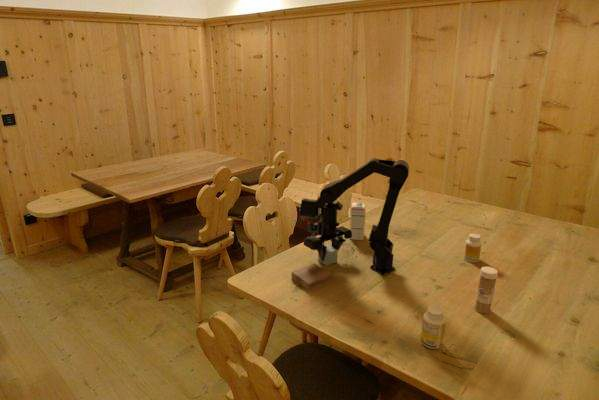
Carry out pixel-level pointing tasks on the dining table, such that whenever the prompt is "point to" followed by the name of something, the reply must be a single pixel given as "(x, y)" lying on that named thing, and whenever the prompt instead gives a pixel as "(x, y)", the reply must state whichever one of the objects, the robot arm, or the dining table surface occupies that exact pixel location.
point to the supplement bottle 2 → (472, 248)
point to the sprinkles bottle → (486, 289)
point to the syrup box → (357, 221)
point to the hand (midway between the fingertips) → (327, 258)
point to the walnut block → (312, 277)
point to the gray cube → (329, 256)
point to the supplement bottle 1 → (433, 327)
